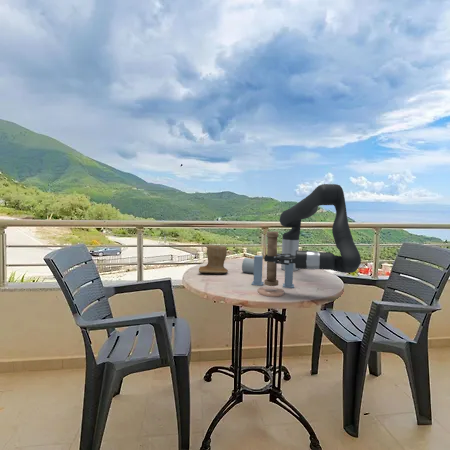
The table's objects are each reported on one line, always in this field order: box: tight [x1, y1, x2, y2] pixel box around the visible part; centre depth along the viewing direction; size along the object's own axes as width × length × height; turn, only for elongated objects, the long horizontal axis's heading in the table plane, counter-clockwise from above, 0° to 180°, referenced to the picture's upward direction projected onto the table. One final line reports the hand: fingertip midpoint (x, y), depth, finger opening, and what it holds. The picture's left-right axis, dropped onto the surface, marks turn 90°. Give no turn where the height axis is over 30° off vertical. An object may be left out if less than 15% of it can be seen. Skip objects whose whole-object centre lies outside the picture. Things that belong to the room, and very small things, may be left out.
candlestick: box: [263, 230, 279, 287], centre depth 135 cm, size 6×6×22 cm
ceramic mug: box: [241, 257, 254, 274], centre depth 175 cm, size 11×8×8 cm
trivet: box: [256, 286, 285, 298], centre depth 136 cm, size 11×11×1 cm
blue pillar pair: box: [251, 255, 295, 289], centre depth 148 cm, size 19×5×13 cm, turn 77°
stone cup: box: [198, 244, 229, 275], centre depth 170 cm, size 15×12×15 cm
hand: (265, 257), depth 135 cm, fingers closed on candlestick, 4 cm apart
